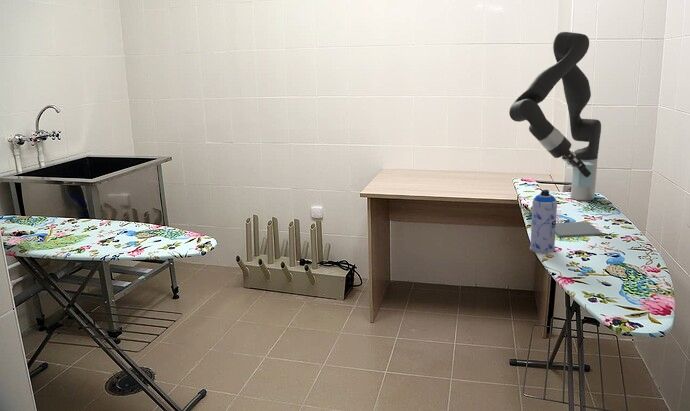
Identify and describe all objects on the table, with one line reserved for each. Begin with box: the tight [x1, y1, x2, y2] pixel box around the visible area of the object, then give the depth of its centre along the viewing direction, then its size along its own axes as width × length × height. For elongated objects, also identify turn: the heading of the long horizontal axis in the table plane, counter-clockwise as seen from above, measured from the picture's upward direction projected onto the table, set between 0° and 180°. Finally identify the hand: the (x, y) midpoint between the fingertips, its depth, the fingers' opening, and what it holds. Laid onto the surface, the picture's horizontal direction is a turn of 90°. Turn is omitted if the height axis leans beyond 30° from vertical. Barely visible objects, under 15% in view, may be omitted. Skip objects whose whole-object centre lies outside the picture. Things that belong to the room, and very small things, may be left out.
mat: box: [555, 221, 604, 238], centre depth 203 cm, size 13×15×1 cm
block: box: [572, 162, 594, 187], centre depth 206 cm, size 5×5×8 cm
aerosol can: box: [529, 189, 558, 254], centre depth 185 cm, size 8×8×20 cm
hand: (585, 173), depth 206 cm, fingers closed on block, 5 cm apart
